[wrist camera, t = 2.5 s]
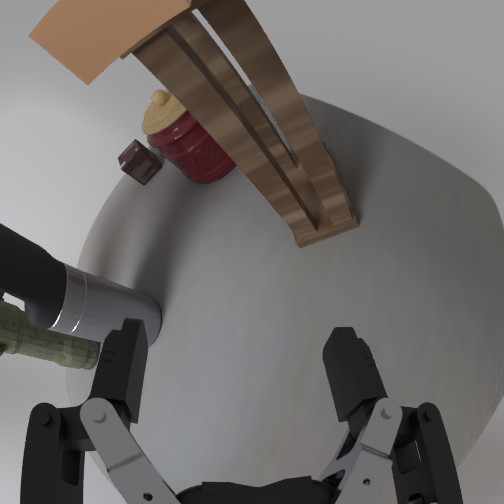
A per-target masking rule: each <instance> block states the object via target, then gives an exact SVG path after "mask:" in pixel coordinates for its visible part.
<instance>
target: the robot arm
mask: <svg viewBox="0 0 504 504" xmlns="http://www.w3.org/2000/svg"><path fill="white" fill-rule="evenodd" d="M5 292H6V293H8V294H10V295H12V296H14V297H16V298H18V299H20V300H23V301H24V302H25V314H26V317H27V319H28V321H29V322H30V323H31V324H33V325H35V326H38V327H41V328H45V329H49V330H52V331H56V332H60V333H64V334H68V335H72V336H76V337H80V338H84V339H88V340H93V341H97V342H102V343H103V347H102V352H101V354H100V358H99V361H98V365H97V369H96V373H95V377H94V381H93V385H92V389H91V393H90V395H89V397H88V399H87V400H86V401H85V402H84V403H83V404H81V405H79V406H76V407H68V408H56V407H54V406H53V405H52V404H49V403H40V404H38V405H36V406H35V407H34V408H33V409H32V411H31V414H30V418H29V424H28V429H27V435H26V442H25V449H24V456H23V466H22V476H21V492H20V504H83V479H84V460H85V451H95V450H97V452H98V453H99V455H100V457H101V459H102V460H103V462H104V464H105V466H106V468H107V472H108V475H109V477H110V479H111V480H112V482H113V483H114V485H115V486H116V488H117V489H118V491H119V492H120V494H121V495H122V497H123V498H124V499H125V501H126V502H127V504H376V502H377V500H378V498H379V496H380V494H381V491H382V489H383V487H384V484H385V482H386V479H387V477H388V475H389V472H390V469H391V468H392V473H393V478H394V484H395V490H396V495H397V502H398V504H463V500H462V495H461V490H460V485H459V480H458V476H457V471H456V467H455V463H454V459H453V455H452V452H451V448H450V444H449V441H448V437H447V434H446V431H445V427H444V424H443V421H442V418H441V415H440V412H439V410H438V408H437V407H436V406H435V405H434V404H432V403H428V402H426V403H423V404H421V405H420V406H419V407H418V408H411V407H403V406H400V405H399V404H398V403H397V402H396V401H395V400H393V399H391V398H388V396H387V394H386V391H385V388H384V386H383V383H382V380H381V377H380V375H379V372H378V369H377V367H376V364H375V361H374V359H373V356H372V353H371V351H370V348H369V346H368V345H367V344H366V343H365V342H364V340H363V339H362V338H357V336H356V333H355V331H354V329H353V328H352V327H336V328H334V330H333V332H332V333H331V335H330V337H329V339H328V341H327V342H326V344H325V346H324V348H323V362H324V365H325V369H326V373H327V377H328V380H329V384H330V388H331V392H332V396H333V400H334V404H335V408H336V412H337V416H338V420H339V422H344V421H348V425H349V428H348V429H347V431H346V434H345V436H344V438H343V440H342V442H341V444H340V446H339V448H338V450H337V452H336V454H335V455H334V457H333V459H332V461H331V462H330V463H329V465H328V466H327V467H326V468H325V469H324V470H323V472H322V473H321V475H320V477H319V478H318V480H312V479H311V476H305V477H298V478H289V479H284V480H281V481H278V482H275V483H272V484H269V485H266V486H263V487H252V486H247V485H241V484H236V483H231V482H202V485H197V486H193V487H190V488H188V489H185V490H183V491H181V492H180V493H178V494H177V495H176V494H175V492H174V491H173V490H172V489H171V488H170V486H169V485H168V484H167V483H166V481H165V480H164V479H163V478H162V476H161V475H160V474H159V472H158V471H157V470H156V469H155V467H154V466H153V465H152V463H151V462H150V461H149V459H148V458H147V456H146V455H145V453H144V452H143V451H142V449H141V448H140V446H139V445H138V443H137V442H136V440H135V439H134V437H133V436H132V434H131V432H130V423H137V424H138V417H139V409H140V401H141V394H142V387H143V380H144V373H145V367H146V361H147V355H148V347H149V346H151V345H152V343H153V342H154V341H155V339H156V338H157V335H158V333H159V329H160V324H161V314H160V309H159V307H158V304H157V303H156V301H155V300H154V299H153V298H151V297H149V296H146V295H143V294H142V293H141V292H138V291H135V290H132V289H130V288H127V287H125V286H122V285H119V284H117V283H114V282H112V281H109V280H107V279H104V278H102V277H96V276H94V275H91V274H89V273H86V272H84V271H82V270H79V269H76V268H74V267H72V266H69V265H67V264H65V263H62V262H60V261H58V260H56V259H55V258H53V257H52V256H51V255H50V254H49V253H48V252H47V251H46V250H44V249H43V248H42V247H40V246H39V245H37V244H35V243H33V242H31V241H30V240H28V239H26V238H24V237H23V236H21V235H19V234H18V233H16V232H14V231H13V230H11V229H9V228H8V227H5V226H4V225H2V224H0V301H1V299H2V297H3V295H4V293H5ZM415 440H416V442H415ZM416 443H417V446H416ZM417 447H418V450H417ZM418 451H419V455H420V459H419V455H418ZM420 460H421V463H420Z"/></svg>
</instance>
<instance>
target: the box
mask: <svg viewBox="0 0 504 504" xmlns="http://www.w3.org/2000/svg"><path fill="white" fill-rule="evenodd" d="M118 160H119V163H120V167H121V170H122V171H124V172H125V173H127V174H128V175H130V176H131V177H132V178H134V179H135V180H137V181H138V182H139V183H141V184H142V185H145V184H146V183H147V182H148V181H149V180H150V179H151V177H152V176H153V175H154V174H155V173H156V172H157V171H158V170H159V169H160V168H161V167H162V166H161V164H160V162H159V160H158V159H157V157H156V155H154V154H153V153H152V152H151V151H150V150H148V149H147V148H146V147H145V146H144V145H142V144H141V143H140V142H139V141H137V140H136V139H135V140H134V141H133V142H132V143H131V144H130V145H129V146H128V147H127V148H126V149H125V151H124V152H123V153H122V154H121V155H120V156H119V157H118Z"/></svg>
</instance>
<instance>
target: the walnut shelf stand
mask: <svg viewBox="0 0 504 504" xmlns="http://www.w3.org/2000/svg"><path fill="white" fill-rule="evenodd" d="M196 8H197V9H198V10H199V11H200V13H201V14H202V15H203V17H204V18H205V19H206V20H207V21H208V23H209V24H210V26H211V27H212V28H213V29H214V31H215V32H216V33H217V35H218V36H219V37H220V39H221V40H222V41H223V43H224V44H225V46H226V47H227V48H228V50H229V51H230V52H231V54H232V55H233V56H234V58H235V59H236V61H237V62H238V64H239V65H240V67H241V68H242V69H243V71H244V72H245V74H246V75H247V77H248V78H249V80H250V81H251V83H252V84H253V86H254V87H255V89H256V90H257V92H258V93H259V95H260V97H261V98H262V100H263V101H264V103H265V104H266V106H267V107H268V109H269V111H270V112H271V114H272V115H273V117H274V119H275V120H276V122H277V124H278V125H279V127H280V128H281V130H282V132H283V133H284V135H285V137H286V139H287V140H288V142H289V144H290V145H291V147H292V149H293V150H294V152H295V154H294V155H292V156H291V154H290V152H289V151H288V149H287V147H286V146H285V144H284V142H283V141H282V139H281V137H280V136H279V134H278V133H277V131H276V129H275V128H274V126H273V125H272V123H271V121H270V120H269V118H268V117H267V115H266V114H265V112H264V111H263V109H262V107H261V106H260V104H259V103H258V101H257V100H256V98H255V97H254V95H253V94H252V92H251V91H250V89H249V88H248V87H247V85H246V84H245V82H244V81H243V79H242V78H241V76H240V75H239V74H238V72H237V71H236V69H235V68H234V67H233V65H232V64H231V62H230V61H229V60H228V58H227V57H226V56H225V54H224V53H223V52H222V50H221V49H220V47H219V46H218V45H217V44H216V42H215V41H214V39H213V38H212V37H211V36H210V34H209V33H208V32H207V31H206V29H205V28H204V27H203V25H202V24H201V23H200V22H199V20H198V19H197V18H196V17H195V15H193V13H192V12H191V11H192V10H194V9H196ZM130 53H132V54H133V55H134V56H135V57H136V58H137V59H138V60H140V62H142V64H143V65H144V66H146V67H147V69H149V71H150V72H152V74H154V75H155V77H156V78H157V79H158V80H159V81H160V82H161V83H162V84H163V85H164V86H165V87H166V88H167V89H168V90H169V91H170V92H171V93H172V94H173V95H174V96H175V97H176V99H177V100H178V101H179V102H180V103H181V104H182V105H183V106H184V107H185V108H186V109H187V110H188V111H189V112H190V113H191V115H192V116H193V117H194V118H195V119H196V120H197V121H198V122H199V123H200V124H201V125H202V126H203V128H204V129H205V130H206V131H207V132H208V133H209V134H210V135H211V136H212V137H213V139H214V140H215V141H216V142H217V143H218V144H219V145H220V146H221V148H222V149H223V150H224V151H225V152H226V153H227V154H228V155H229V157H230V158H231V159H232V160H233V161H234V162H235V163H236V164H237V166H238V167H239V168H240V169H241V170H242V171H243V173H244V174H245V175H246V176H247V177H248V178H249V179H250V181H251V182H252V183H253V184H254V185H255V186H256V188H257V189H258V190H259V191H260V192H261V194H262V195H263V196H264V197H265V198H266V199H267V201H268V202H269V203H270V204H271V205H272V207H273V208H274V209H275V210H276V211H277V213H278V214H279V215H280V216H281V217H282V219H283V220H284V221H285V222H286V223H287V225H288V226H289V227H290V228H291V230H292V231H293V233H294V237H295V241H296V244H297V245H298V246H299V248H302V247H305V246H307V245H310V244H313V243H315V242H318V241H321V240H324V239H326V238H329V237H332V236H334V235H337V234H340V233H342V232H345V231H348V230H351V229H353V228H356V227H359V225H358V221H357V219H356V216H355V214H354V211H353V209H352V206H351V204H350V201H349V199H348V196H347V194H346V191H345V189H344V187H343V184H342V182H341V180H340V177H339V175H338V173H337V171H336V168H335V166H334V164H333V162H332V160H331V157H330V155H329V153H328V151H327V149H326V147H325V145H324V143H322V142H321V139H320V137H319V135H318V133H317V131H316V128H315V126H314V124H313V122H312V120H311V118H310V116H309V113H308V111H307V109H306V107H305V105H304V103H303V101H302V99H301V97H300V95H299V93H298V91H297V89H296V87H295V86H294V84H293V82H292V80H291V78H290V76H289V74H288V72H287V70H286V68H285V67H284V65H283V63H282V61H281V59H280V58H279V56H278V54H277V52H276V51H275V49H274V47H273V45H272V44H271V42H270V40H269V39H268V37H267V35H266V34H265V32H264V31H263V29H262V27H261V25H260V24H259V22H258V21H257V19H256V18H255V16H254V15H253V13H252V11H251V10H250V8H249V7H248V5H247V4H246V2H245V1H244V0H191V5H190V7H189V8H187V9H185V10H184V11H182V12H180V13H179V14H177V15H176V16H174V17H173V18H171V19H170V20H168V21H166V22H165V23H163V24H162V25H161V26H159V27H158V28H156V29H155V30H153V31H152V32H151V33H149V34H148V35H146V36H145V37H144V38H142V39H141V40H140V41H138V42H137V43H136V44H135V45H133V46H132V47H131V48H129V49H128V50H127V51H126V52H125V53H123V54H122V55H121V56H120V58H122V59H124V58H125V57H126V56H127V55H129V54H130Z"/></svg>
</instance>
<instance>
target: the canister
mask: <svg viewBox="0 0 504 504" xmlns="http://www.w3.org/2000/svg"><path fill="white" fill-rule="evenodd" d="M151 100H152V103H151V104H150V106H149V107H148V109H147V110H146V112H145V114H144V120H143V123H142V131H143V133H145V134H147V141H148V143H149V145H150V146H152V147H155V148H159V149H160V153H161V155H162V156H163V157H164V158H166V159H168V160H169V161H171V162H172V163H173V164H174V165H175V166H176V167H177V168H179V169H180V170H181V171H182V173H183V174H184V175H185V176H186V177H187V178H189V179H190V180H193V181H195V182H197V183H209V182H213V181H215V180H217V179H219V178H221V177H223V176H224V175H226V174H227V173H228V172H229V171H230V170H232V169H233V168H234V166H235V165H236V163H235V162H234V161H233V160H232V159H231V158H230V157H229V155H228V154H227V153H226V152H225V151H224V150H223V149H222V148H221V146H220V145H219V144H218V143H217V142H216V141H215V140H214V139H213V137H212V136H211V135H210V134H209V133H208V132H207V131H206V130H205V129H204V128H203V126H202V125H201V124H200V123H199V122H198V121H197V120H196V119H195V118H194V117H193V116H192V115H191V113H190V112H189V111H188V110H187V109H186V108H185V107H184V106H183V105H182V104H181V103H180V102H179V101H178V100H177V99H176V97H175V96H174V95H173V94H172V93H171V92H170V91H169V90H168V89H166V90H165V91H163V90H157V91H155V92H154V93H153V94H152V96H151Z"/></svg>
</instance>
